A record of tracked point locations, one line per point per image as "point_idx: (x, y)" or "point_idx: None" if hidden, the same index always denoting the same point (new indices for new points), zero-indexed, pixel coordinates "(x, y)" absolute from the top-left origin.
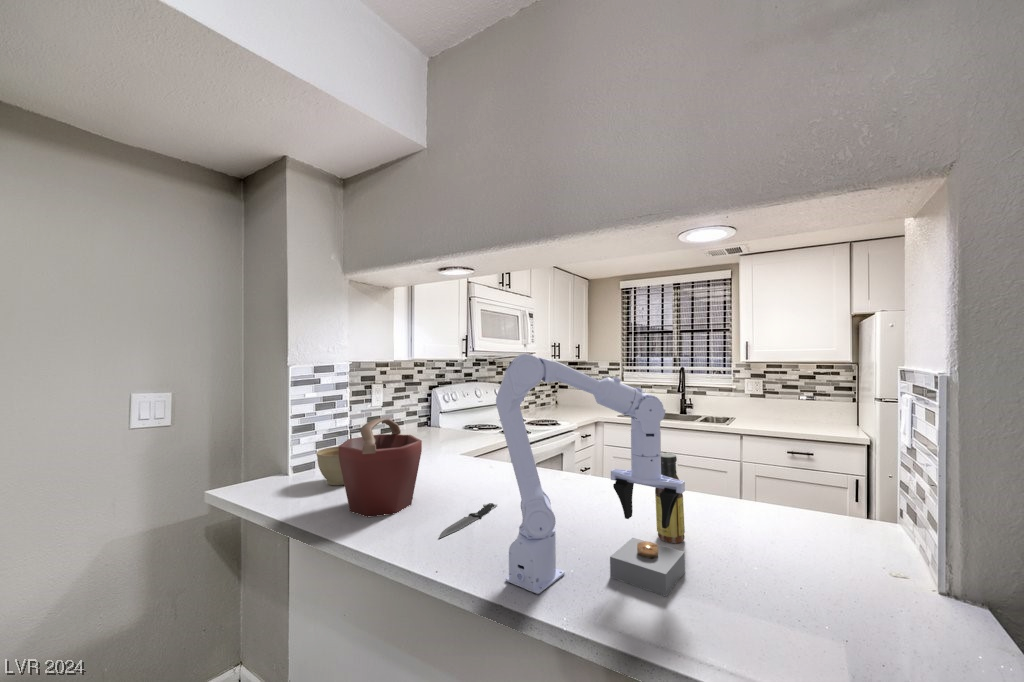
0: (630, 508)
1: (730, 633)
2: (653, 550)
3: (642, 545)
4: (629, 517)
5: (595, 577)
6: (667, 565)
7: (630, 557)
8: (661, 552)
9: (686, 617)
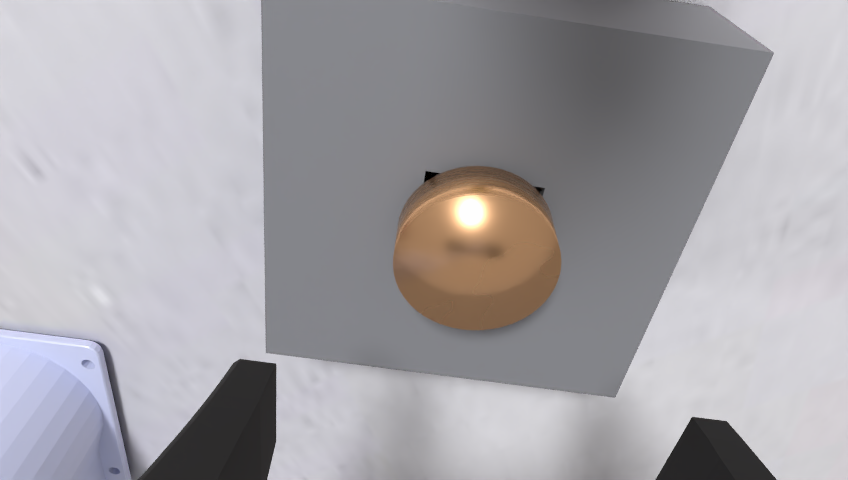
0: (243, 477)
1: (836, 421)
2: (531, 313)
3: (437, 279)
4: (274, 419)
5: (233, 303)
6: (622, 312)
7: (380, 316)
8: (570, 158)
9: (677, 401)
